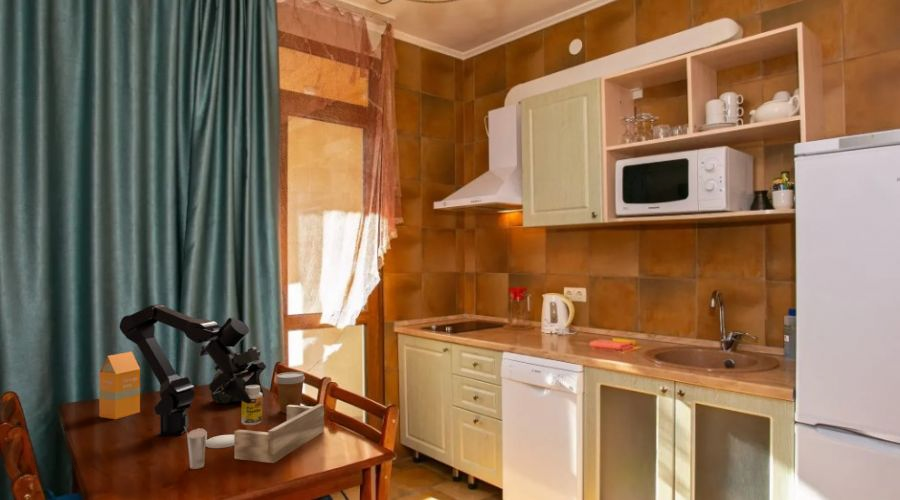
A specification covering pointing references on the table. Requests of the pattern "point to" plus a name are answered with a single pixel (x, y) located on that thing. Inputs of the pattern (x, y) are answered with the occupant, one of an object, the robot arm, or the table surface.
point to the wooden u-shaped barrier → (280, 435)
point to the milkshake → (196, 447)
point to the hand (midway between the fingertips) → (256, 399)
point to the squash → (224, 397)
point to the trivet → (220, 441)
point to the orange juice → (119, 386)
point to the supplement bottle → (252, 406)
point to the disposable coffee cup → (289, 389)
